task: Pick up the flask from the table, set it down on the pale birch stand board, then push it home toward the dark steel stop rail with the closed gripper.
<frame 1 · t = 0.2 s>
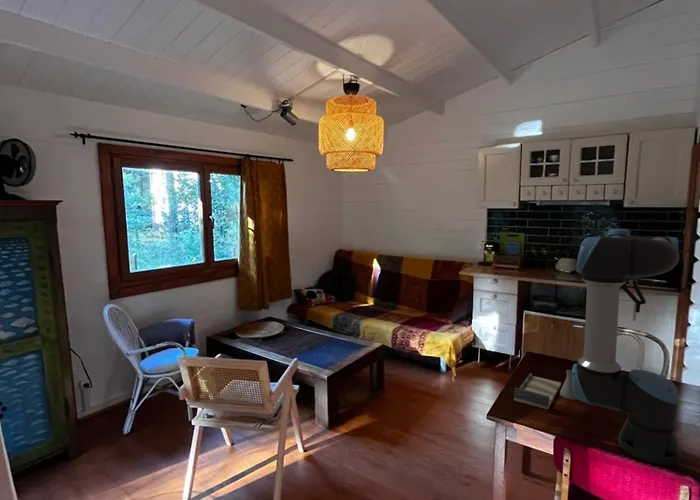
hand: (614, 317, 163), 28 cm above the table, fingers open, 13 cm apart
flask: (569, 396, 154), on the table
stand board: (538, 392, 157), on the table
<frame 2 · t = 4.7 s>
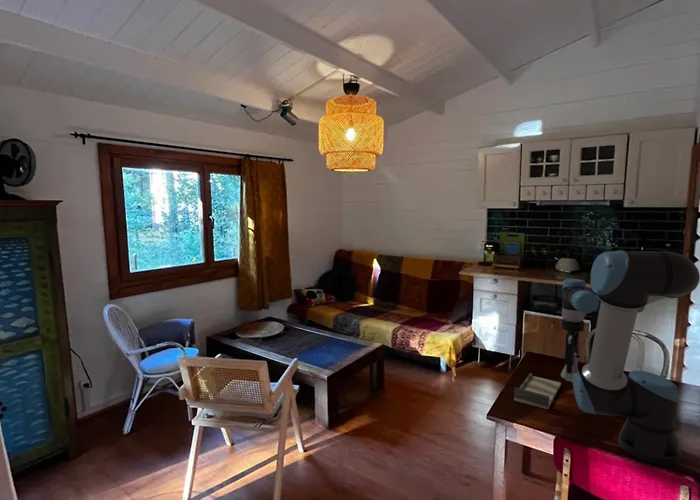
hand: (571, 377, 152), 8 cm above the table, fingers closed on flask, 7 cm apart
flask: (571, 378, 152), point 7 cm above the table, touching gripper
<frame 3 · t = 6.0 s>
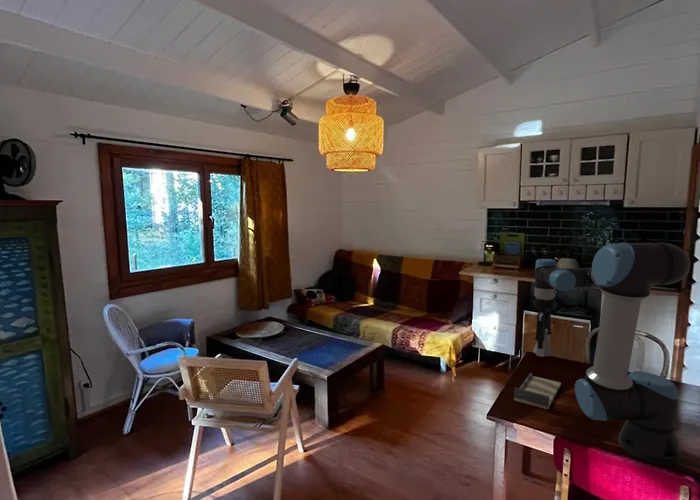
hand: (542, 352, 159), 15 cm above the table, fingers closed on flask, 7 cm apart
flask: (542, 353, 159), point 14 cm above the table, touching gripper
when the fingers open (2 cm above the table, at t = 7.7 s): flask stays where it is, resting on stand board.
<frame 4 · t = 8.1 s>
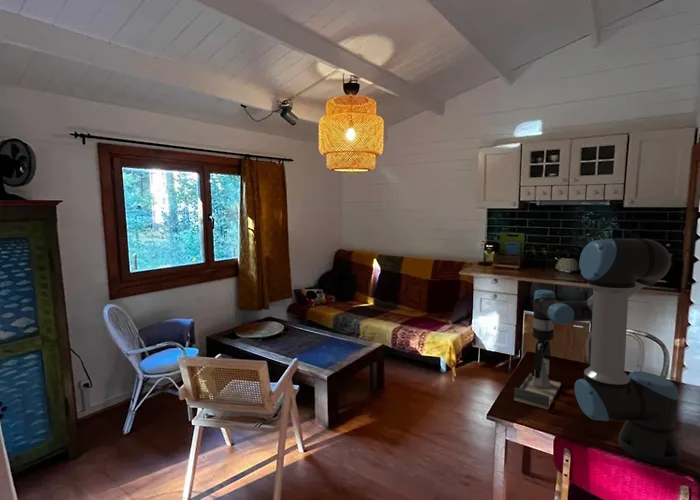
hand: (541, 379, 161), 4 cm above the table, fingers open, 12 cm apart
flask: (541, 385, 161), point 1 cm above the table, touching stand board
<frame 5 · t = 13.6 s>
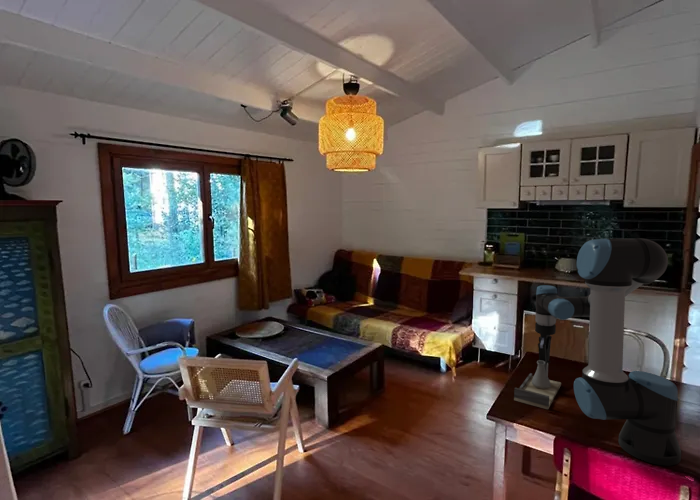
hand: (543, 377, 164), 3 cm above the table, fingers closed
flask: (541, 384, 160), point 2 cm above the table, touching gripper, hand
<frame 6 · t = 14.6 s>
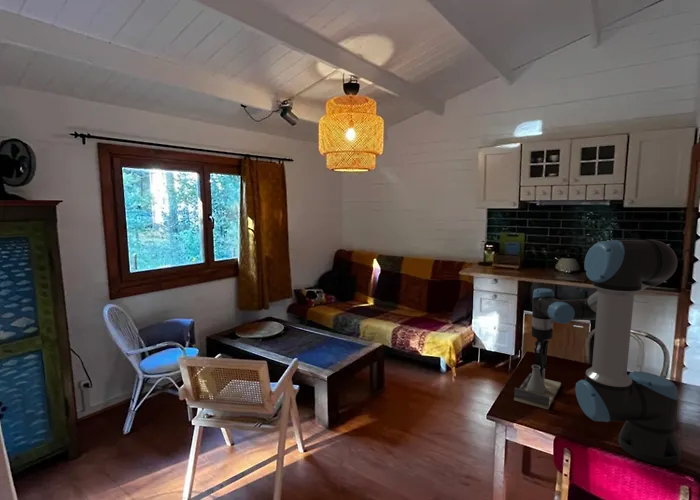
hand: (540, 383, 159), 3 cm above the table, fingers closed
flask: (536, 389, 156), point 2 cm above the table, touching hand
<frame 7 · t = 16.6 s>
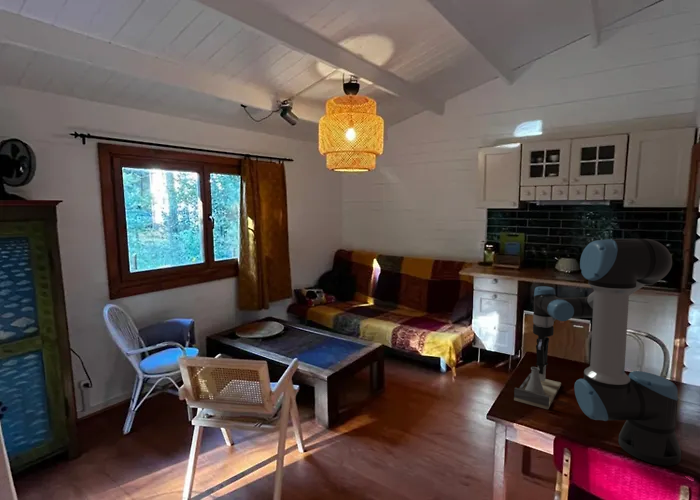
hand: (541, 380, 161), 3 cm above the table, fingers closed
flask: (534, 393, 154), point 1 cm above the table, touching stand board
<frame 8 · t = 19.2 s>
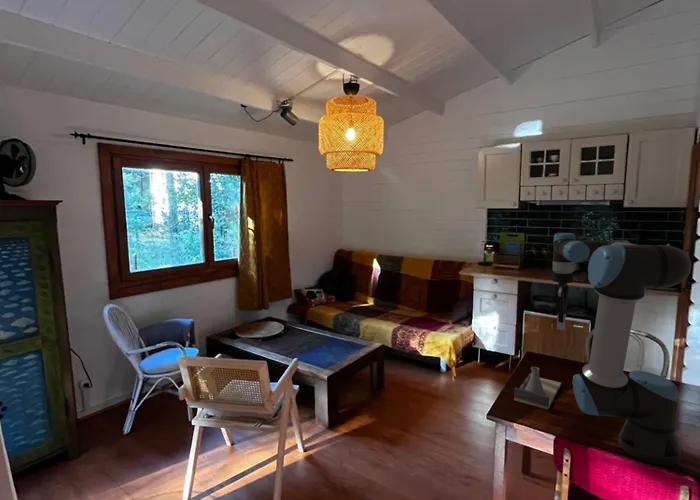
hand: (560, 329, 159), 24 cm above the table, fingers closed
nothing on the table moved.
at the end: flask inside the target area (1.7 cm from its centre), point 1.0 cm above the table; flask tilted 0°; the gripper is holding nothing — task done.
